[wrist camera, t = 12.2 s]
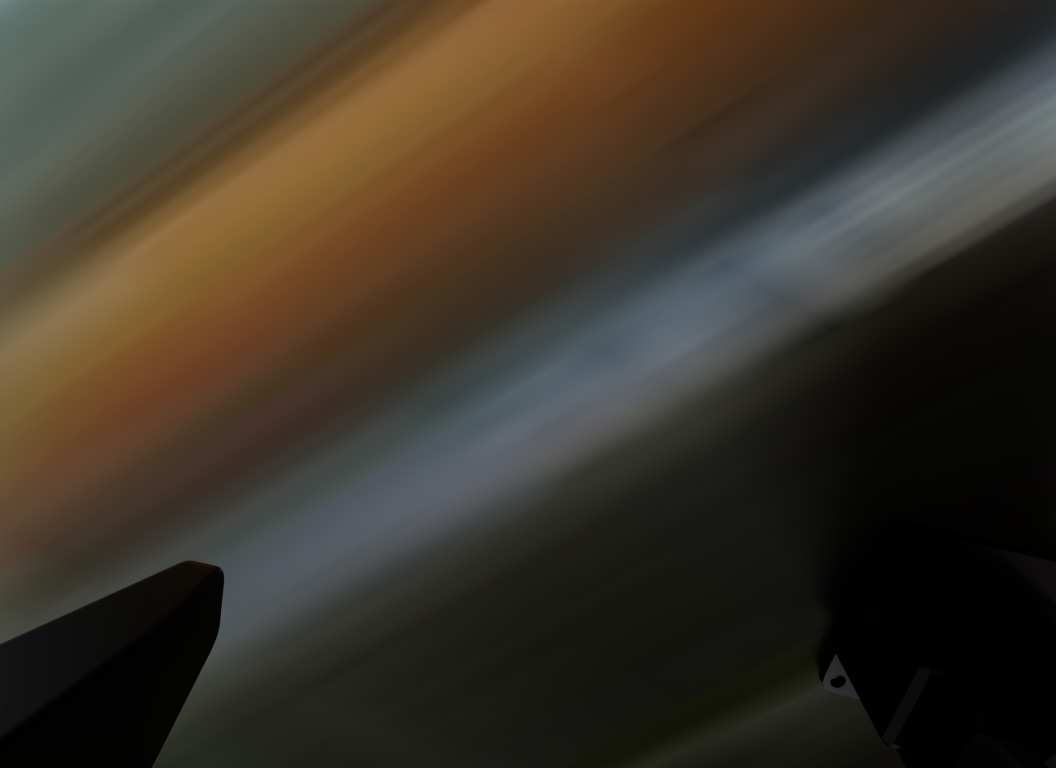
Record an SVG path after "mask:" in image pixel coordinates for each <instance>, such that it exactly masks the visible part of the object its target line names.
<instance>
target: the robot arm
mask: <svg viewBox="0 0 1056 768" xmlns="http://www.w3.org/2000/svg"><path fill="white" fill-rule="evenodd" d="M903 536H908V538H907V539H906V540H905V541H904V542H901V543H898V540H899V539H900V538H901V537H903ZM223 587H224V573H223V571H222V569H221V568H220V567H218V566H214V565H210V564H205V563H201V562H196V561H184V562H181V563H179V564H176V565H174V566H172V567H170V568H167V569H165V570H163V571H161V572H159V573H156V574H154V575H152V576H150V577H148V578H145V579H143V580H141V581H139V582H137V583H134V584H132V585H130V586H128V587H126V588H123V589H121V590H119V591H117V592H114V593H112V594H110V595H108V596H106V597H103V598H101V599H99V600H97V601H95V602H92V603H90V604H88V605H86V606H84V607H81V608H79V609H77V610H75V611H72V612H70V613H68V614H66V615H64V616H61V617H59V618H57V619H55V620H53V621H50V622H48V623H46V624H44V625H42V626H39V627H37V628H35V629H33V630H30V631H28V632H26V633H24V634H22V635H19V636H17V637H15V638H13V639H11V640H8V641H6V642H4V643H2V644H0V768H152V766H153V764H154V762H155V760H156V758H157V756H158V754H159V753H160V751H161V749H162V747H163V745H164V743H165V741H166V739H167V737H168V735H169V733H170V731H171V729H172V727H173V725H174V723H175V721H176V719H177V717H178V715H179V713H180V711H181V709H182V707H183V705H184V703H185V701H186V699H187V697H188V695H189V693H190V691H191V689H192V687H193V685H194V683H195V681H196V679H197V677H198V675H199V673H200V671H201V669H202V668H203V666H204V664H205V662H206V660H207V658H208V656H209V654H210V652H211V650H212V648H213V645H214V643H215V640H216V638H217V634H218V631H219V626H220V617H221V607H222V597H223ZM835 676H839V677H838V678H836V679H832V678H833V677H835ZM819 678H820V680H821V682H822V684H823V686H824V688H825V689H826V690H827V691H828V692H831V693H834V694H838V695H843V696H847V697H852V698H856V699H860V700H861V702H862V704H863V706H864V708H865V710H866V711H867V713H868V715H869V717H870V719H871V721H872V723H873V725H874V726H875V728H876V730H877V732H878V734H879V736H880V738H881V739H882V741H883V743H884V744H885V745H886V746H887V747H891V748H896V750H897V752H898V753H899V755H900V757H901V759H902V761H903V762H904V764H905V766H906V768H1056V557H1055V556H1051V555H1047V554H1042V553H1038V552H1034V551H1029V550H1025V549H1021V548H1016V547H1012V546H1008V545H1003V544H999V543H995V542H990V541H986V540H982V539H978V538H973V537H969V536H965V535H960V534H956V533H952V532H947V531H943V530H939V529H934V528H930V527H926V526H921V525H917V524H913V523H908V522H897V523H894V524H892V525H891V526H889V527H888V528H887V530H886V531H885V532H884V535H883V537H882V539H881V541H880V543H879V545H878V547H877V549H876V551H875V554H874V556H873V558H872V560H871V562H870V564H869V566H868V568H867V571H866V573H865V575H864V577H863V579H862V580H861V581H860V582H859V583H858V584H857V586H856V588H855V590H854V592H853V594H852V597H851V599H850V601H849V603H848V605H847V607H846V609H845V611H844V614H843V616H842V618H841V620H840V622H839V624H838V626H837V628H836V630H835V633H834V635H833V637H832V639H831V647H830V649H829V651H828V653H827V655H826V657H825V659H824V661H823V664H822V666H821V668H820V670H819Z"/></svg>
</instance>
